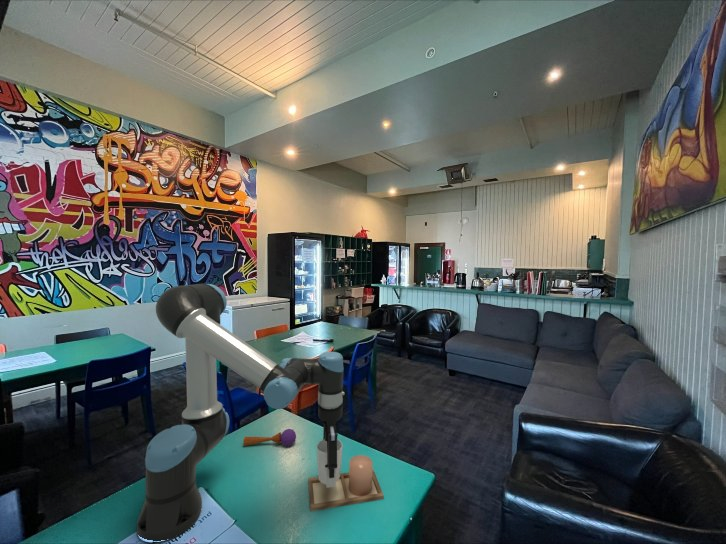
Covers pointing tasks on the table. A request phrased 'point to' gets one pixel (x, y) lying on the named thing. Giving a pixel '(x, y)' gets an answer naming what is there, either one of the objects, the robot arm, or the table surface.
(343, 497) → the wooden divided tray
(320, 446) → the white cup
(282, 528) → the table surface
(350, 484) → the pink round cylinder
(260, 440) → the kendama
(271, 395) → the robot arm
